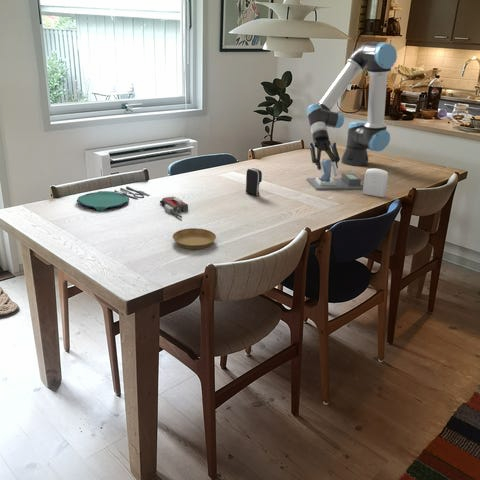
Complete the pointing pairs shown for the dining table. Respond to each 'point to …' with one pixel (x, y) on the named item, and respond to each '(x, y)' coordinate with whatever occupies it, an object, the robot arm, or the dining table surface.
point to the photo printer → (375, 182)
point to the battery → (253, 181)
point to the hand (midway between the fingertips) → (329, 175)
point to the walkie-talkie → (174, 205)
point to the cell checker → (337, 183)
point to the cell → (326, 170)
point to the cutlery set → (107, 199)
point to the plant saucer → (194, 238)
